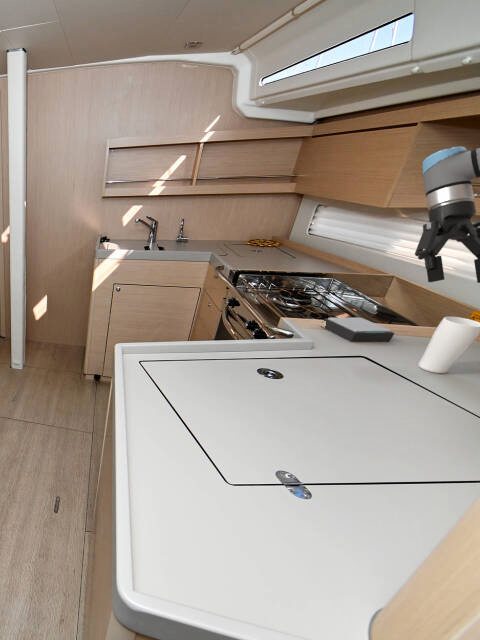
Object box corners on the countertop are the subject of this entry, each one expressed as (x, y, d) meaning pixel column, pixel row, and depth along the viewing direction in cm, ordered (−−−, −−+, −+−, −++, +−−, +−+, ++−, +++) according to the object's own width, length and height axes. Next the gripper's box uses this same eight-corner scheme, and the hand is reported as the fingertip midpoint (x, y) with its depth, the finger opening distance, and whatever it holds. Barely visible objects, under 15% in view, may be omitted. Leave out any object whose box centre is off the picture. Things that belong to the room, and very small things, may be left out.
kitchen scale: (389, 341, 115) (395, 331, 113) (350, 341, 116) (356, 331, 114) (355, 326, 126) (361, 316, 124) (320, 326, 126) (325, 316, 125)
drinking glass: (417, 371, 100) (449, 323, 93) (409, 360, 104) (438, 314, 98) (454, 378, 96) (490, 328, 89) (444, 367, 101) (477, 319, 94)
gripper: (475, 213, 100) (486, 285, 98) (389, 211, 100) (398, 284, 98) (516, 199, 93) (529, 277, 91) (423, 198, 93) (434, 276, 90)
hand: (461, 281), depth 94 cm, fingers open, 13 cm apart
